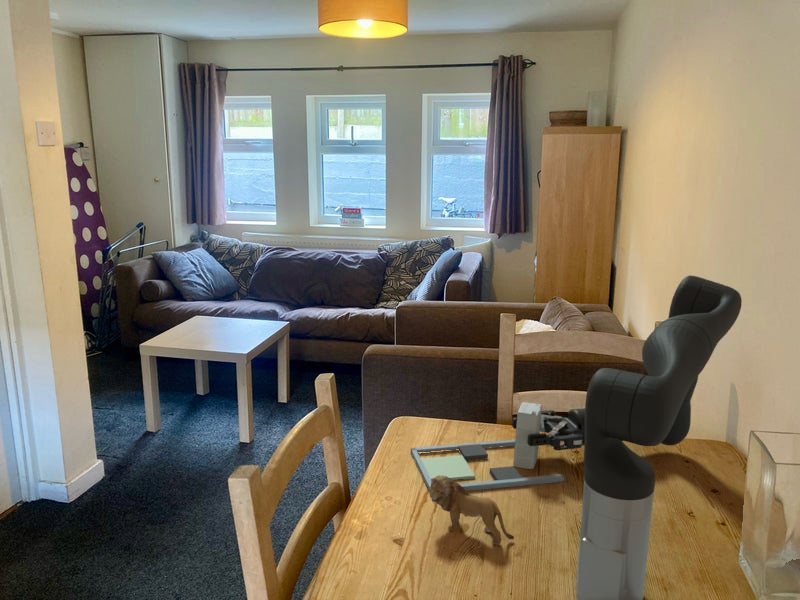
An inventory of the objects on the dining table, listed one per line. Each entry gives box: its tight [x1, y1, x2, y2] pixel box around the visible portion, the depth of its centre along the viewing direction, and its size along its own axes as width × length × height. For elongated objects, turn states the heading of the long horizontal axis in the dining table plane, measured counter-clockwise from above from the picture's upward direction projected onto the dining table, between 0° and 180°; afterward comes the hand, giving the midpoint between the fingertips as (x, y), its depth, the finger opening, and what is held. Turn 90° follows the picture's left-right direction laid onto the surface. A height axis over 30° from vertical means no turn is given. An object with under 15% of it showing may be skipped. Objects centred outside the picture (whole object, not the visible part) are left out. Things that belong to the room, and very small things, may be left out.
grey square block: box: [489, 465, 523, 481], centre depth 124 cm, size 5×5×1 cm
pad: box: [421, 454, 476, 481], centre depth 128 cm, size 9×9×1 cm
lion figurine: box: [429, 475, 515, 547], centre depth 105 cm, size 15×5×9 cm, turn 68°
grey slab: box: [458, 444, 489, 461], centre depth 134 cm, size 5×5×1 cm
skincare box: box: [512, 401, 543, 470], centre depth 130 cm, size 6×4×12 cm
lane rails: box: [410, 439, 564, 493], centre depth 129 cm, size 27×18×1 cm
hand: (520, 431), depth 129 cm, fingers open, 8 cm apart
